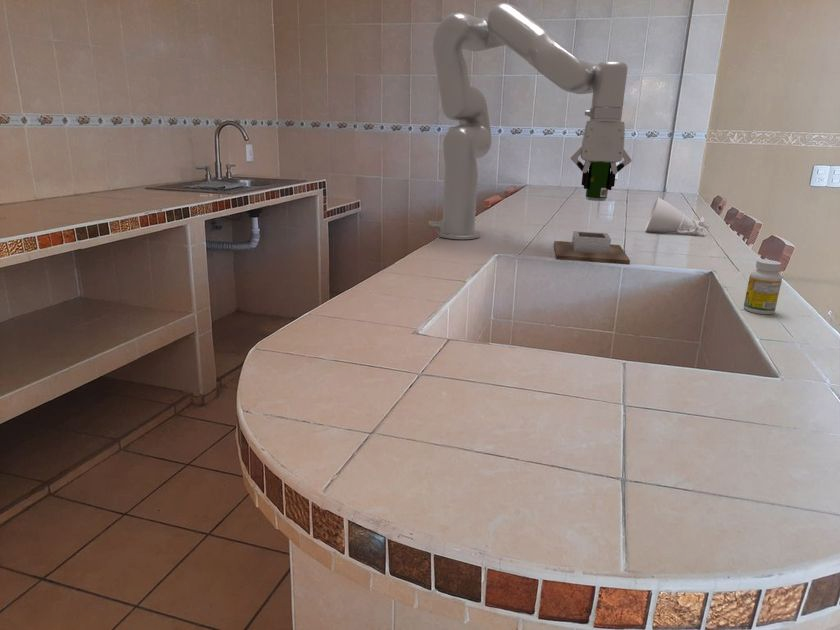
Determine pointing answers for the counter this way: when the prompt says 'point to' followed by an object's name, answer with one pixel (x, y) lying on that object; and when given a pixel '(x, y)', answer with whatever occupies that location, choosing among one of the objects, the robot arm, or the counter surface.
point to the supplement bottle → (763, 287)
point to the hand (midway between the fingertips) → (597, 188)
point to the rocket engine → (672, 220)
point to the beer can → (598, 181)
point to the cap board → (590, 249)
